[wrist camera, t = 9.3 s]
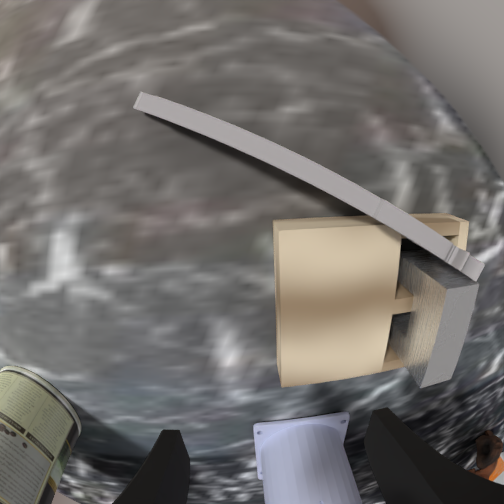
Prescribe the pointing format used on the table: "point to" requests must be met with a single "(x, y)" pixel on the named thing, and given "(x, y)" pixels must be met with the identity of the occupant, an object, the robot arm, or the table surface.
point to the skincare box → (498, 471)
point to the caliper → (313, 178)
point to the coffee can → (33, 437)
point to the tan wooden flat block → (341, 294)
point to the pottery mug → (487, 454)
